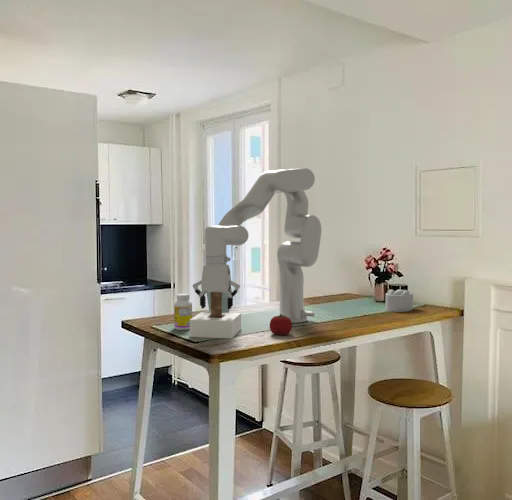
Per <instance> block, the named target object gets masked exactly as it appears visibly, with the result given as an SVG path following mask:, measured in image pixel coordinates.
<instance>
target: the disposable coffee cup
mask: <svg viewBox="0 0 512 500" xmlns="http://www.w3.org/2000/svg"><path fill="white" fill-rule="evenodd" d="M231 292H233V288H232V287H231ZM205 294H206V298H207V305H208V312H211V292H206V293H205ZM230 311H231V310H230V309H228V295H227V294H226V293H222V313H230Z"/></svg>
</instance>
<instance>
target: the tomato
mask: <svg viewBox="0 0 512 500" xmlns="http://www.w3.org/2000/svg"><path fill="white" fill-rule="evenodd" d="M292 329H293V323H292V321H291V320H290V318H288V317H286V316H284V315H282V314H280V313H279V315H275V316H273V317H271V319H270V321H269V330H270V332H271V333H272V334H274V335H277V336H287V335H288V334H290V333H291V331H292Z"/></svg>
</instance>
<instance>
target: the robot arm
mask: <svg viewBox="0 0 512 500" xmlns="http://www.w3.org/2000/svg"><path fill="white" fill-rule="evenodd" d="M315 177H316V176H315V174H314V172H313V171H312V170H311V169H309V168H307V167H301V168H300V167H299V168H289V169H276V170H267V171H264V172H262V173H261V174H260V175H259V176H258V178H257V179H256V181H255V182H254V184H253V185H252V187H251V188H250V190H249V191H248V193H247V194H246V195H245V196H244V198H243V199H242V200H241V201H239V202H238V203H237V204H236V205H234V206H233V207H232V208H231V209H230V210H228V211H227V212H226V213H225V214H224V216H223V217H222V218H221V220H220V221H219V223H218V224H217V225H209V226H206V227H205V228H204V249H205V250H204V255H205V258H204V261H205V262H204V263H205V264H203V267H202V273H201V280H199V281H198V282H195V283H194V284H192V288H193V290H194V292H195V294H197V295H198V298H199V306H200V307H201V309H206V303H207V302H206V298H207V296H205V295H206V294H207V293H206V292H219V293H226V294H227V295H228V309H232V307H233V306H234V296H235V295H236V294H237V293H238V292H239V290H240V288H241V285H240V284H239V283H238V282H235V281H234V280H232V278H231V268H230V264H229V263H228V262H231V257H229V256H228V255H227V246H233V247H234V246H235V247H238V246H243V245H244V244H245V243H247V241H248V240H249V231H248V229H247V228H246V227H244V226H243V225H242V224H243V223H245V222H246V221H248V220H250V219H252V218H255V217H257V216H259V215H260V214H262V213H263V212H264V210H265V209H266V208H267V206H268V204H269V203H270V202H271V200H272V198H273V197H274V195H275V194H280V193H281V194H282V193H284V196H285V198H286V203H287V204H286V211H285V212H286V213H285V218H284V220H285V221H284V234H285V235H286V236H287V237H288V238H292V239H300V241H292V240H291V241H285V242H283V243H281V244H280V245H279V246H278V249H277V253H276V255H277V256H276V257H277V263H278V266H279V267H278V269H279V315H280V314H282V315H284V316H286V317H288V318H290V320H291V321H292V324H296V323H297V324H298V323H305V322H307V321H308V317H312V318H313V317H315V311H311V310H310V311H307V310H305V309H306V308H305V307H304V278H305V277H304V273H303V268H306V267H307V268H309V267H312V266H313V265H315V264H316V262H317V261H318V258H319V252H320V251H319V250H320V244H321V238H322V237H321V236H322V224H321V220H320V219H319V218H318V217H317V216H316V215H314V214H309V199H308V196H307V194H306V192H305V191H308V190H311V188H313V186H314V184H315V180H316V178H315ZM302 267H303V268H302ZM199 286H201V290H200V289H199ZM232 287H234V290H232V292H231V288H232Z"/></svg>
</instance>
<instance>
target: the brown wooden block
mask: <svg viewBox="0 0 512 500" xmlns="http://www.w3.org/2000/svg"><path fill="white" fill-rule="evenodd" d="M211 318H222V293H219V292H211Z"/></svg>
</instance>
